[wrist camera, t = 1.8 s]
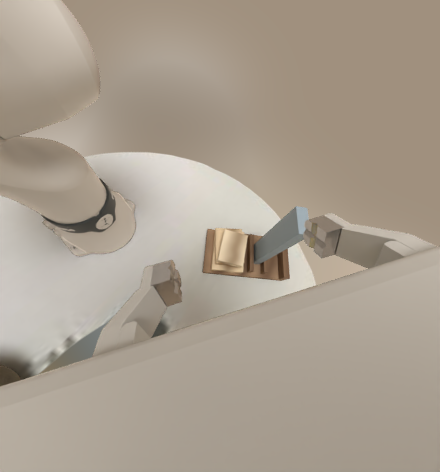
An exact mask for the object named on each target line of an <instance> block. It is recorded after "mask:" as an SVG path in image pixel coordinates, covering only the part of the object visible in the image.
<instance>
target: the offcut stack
mask: <svg viewBox="0 0 440 472" xmlns="http://www.w3.org/2000/svg"><path fill="white" fill-rule="evenodd" d="M247 238H248V235H244V232H242V229H221V228H216V229H215V234H214V244H213V255H212V266H211V271H221V272H230V273H240V274H241V273H243V263H244V257H245V251H246V245H247Z"/></svg>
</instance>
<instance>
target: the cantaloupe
mask: <svg viewBox="0 0 440 472" xmlns="http://www.w3.org/2000/svg"><path fill="white" fill-rule="evenodd" d="M20 380H21V379H20V377H19V375H18V374H17V373H16V372H15V371H13V370H12V369H10V368H8V367H5V366H2V365H0V386H3V385H7V384H10V383H13V382H17V381H20Z"/></svg>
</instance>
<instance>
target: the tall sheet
mask: <svg viewBox="0 0 440 472" xmlns="http://www.w3.org/2000/svg"><path fill="white" fill-rule="evenodd" d="M306 220H309V219H308V212H307V208H303V207H297V206H296V207H295V208H294V209H293V210H292V211H290V213H288V214H287V215H286V216H285V217H284V218H283V219H282V220H281V221H279V222H278V223H277V224H276V225H275V226H274V227H273V228H272V229H271V230H270V231H268V232H267V233H266V234H265V235H264V236H263V237H262V238H261V239H260V240H259V241H257V242H256V243H255V244H254V264H261V263H263V262H264V261H266V260H268V259H270V258H272V257H273V256H275V255H277V254H279V253H280V252H282V251H284V250H286V249H288V248H289V247H291V246H293V245H295V244H296V243H298V242H300V241H302V240H304V238H303V233H304V231H305V230H306V228H305V227H304V223H305V221H306Z"/></svg>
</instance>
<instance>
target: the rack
mask: <svg viewBox="0 0 440 472" xmlns="http://www.w3.org/2000/svg"><path fill="white" fill-rule="evenodd" d="M214 234H215V230H212V229H208V230H207V238H206V248H205V257H204V266H203V273H212V274H221V275H231V276H241V277H251V278H260V279H270V280H280V281H282V280H286V279H290V275H289V262H288V249H286V250H284V251H282V252H280V253H279V254H277V255H275V256H273V257H272V258H270V259H268V260H266V261H264V262H263V263H261V264H254V244H255V243H256V242H257V241H259V240H260V239H261V238H262V237H263V236H257V235H252V234H250V235H249V234H244V235H248V238H247V245H246V251H245V257H244V263H243V273H241V274H240V273H230V272H221V271H211V266H212V255H213V244H214Z"/></svg>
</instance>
